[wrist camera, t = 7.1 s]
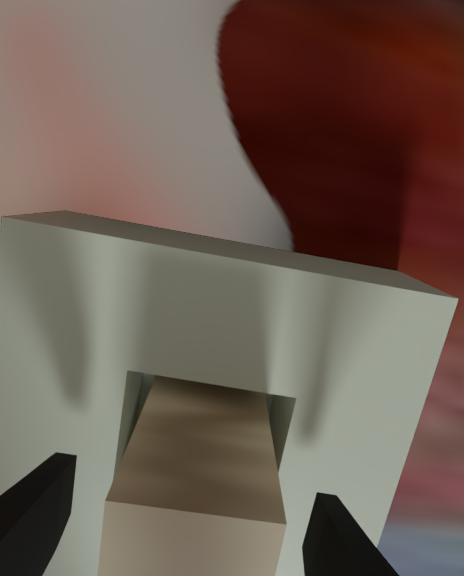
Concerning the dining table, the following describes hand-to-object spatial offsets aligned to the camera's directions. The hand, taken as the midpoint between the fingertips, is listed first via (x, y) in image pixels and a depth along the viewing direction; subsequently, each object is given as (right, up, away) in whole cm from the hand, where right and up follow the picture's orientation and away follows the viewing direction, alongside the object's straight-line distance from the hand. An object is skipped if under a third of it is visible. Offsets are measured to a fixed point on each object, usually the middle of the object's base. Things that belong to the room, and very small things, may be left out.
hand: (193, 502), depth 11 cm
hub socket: (0, +2, +6) cm, 6 cm away
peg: (0, +1, +5) cm, 5 cm away
